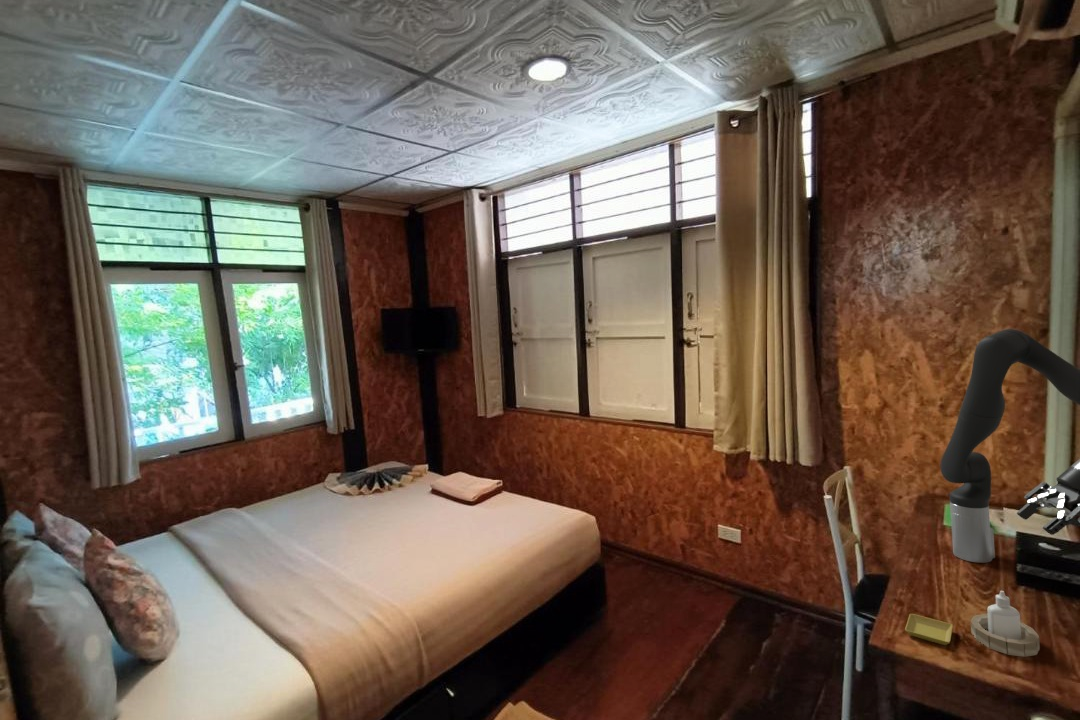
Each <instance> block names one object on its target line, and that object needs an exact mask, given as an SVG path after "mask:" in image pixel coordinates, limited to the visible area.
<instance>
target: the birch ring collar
mask: <svg viewBox="0 0 1080 720" xmlns="http://www.w3.org/2000/svg"><path fill="white" fill-rule="evenodd" d="M1020 622H1021V639H1022V640H1015V639H1007V638H1003V637H1000V636H997V635H994V634H992V633H990V632H989V631H988V614H987V613H981V614H976V615H974V616H973V617H972V618H971V619H970V632H971V634H972V636H973V635H974V636H973V637H974V639H975V638H976V639H975V640H976V641H977V642H979V643H980V642H981V643H980V644H982V645H983V644H984V646H985V647H987V648H988V649H991V650H993V651H996V652H999V653H1003V654H1005V655H1009V656H1015V657H1024V658H1026V657H1031V656H1037V655H1038V653H1039V651H1040V648H1041V647H1040V635H1039V634H1038V633H1037V632H1036V631H1035V630H1034V628H1033V627H1031V626H1029V625H1027V624H1025V623H1024V622H1022V621H1020ZM985 629H986V630H985Z"/></svg>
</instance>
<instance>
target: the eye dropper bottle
mask: <svg viewBox="0 0 1080 720" xmlns="http://www.w3.org/2000/svg"><path fill="white" fill-rule="evenodd" d="M986 614H988V629H987V631H988V632H990V633H992V634H994V635H997V636H1000V637H1003V638H1007V639H1015V640H1022V639H1023V638H1021V622H1022V621H1021V615H1020V614H1021V613H1020V612H1019V610H1018V609H1016V608H1015V607H1013V606H1011V600H1010V597H1008V596H1006V594H1005V591H1004V590H999V594H995V603H994V604H991V605H989V606H988V607H987V613H986Z"/></svg>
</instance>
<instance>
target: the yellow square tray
mask: <svg viewBox="0 0 1080 720" xmlns="http://www.w3.org/2000/svg"><path fill="white" fill-rule="evenodd" d="M953 628H954V625H953V624H952V623H949V622H946V621H941V620H938V619H934V618H932V617H931V618H930V617H928V616H927V617H926V616H924V615H918V614H916V613H910V614H909V615H908V618H907V622H906V625H905V628H904V631H905V632H907V633H908V635H909V636H911V637H915V638H918V639H922V640H924V641H928V642H932V643H934V642H935V644H938V645H943V646H947V645H949V644H950V643H951V639H952V634H953V633H952V632H953Z"/></svg>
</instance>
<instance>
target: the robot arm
mask: <svg viewBox="0 0 1080 720" xmlns="http://www.w3.org/2000/svg"><path fill="white" fill-rule="evenodd" d="M973 354H974V355H973V360H972V361H973V362H972V369H971V373H970V375H971V376H970V379H969V381H968V383H967V384H968V385H967V388H966V391H965V394H964V398H963V400H962V403H961V406H960V409H959V413H958V416H957V420H956V423H955V426H954V429H953V432H952V436H951V438H950V440H949V442H948V444H947V446H946V448H945V450H944V452H943V454H942V457H941V458H940V473H941V475H942V477H943V478H944V480H945V481H947V482H949V483H953V484H962V485H961V486H959V487H958V488H956V489H954V490H952V491H950V492H949V494H948V495H949V510H950V524H951V525H950V526H951V540H952V554H953V555H954V556H955V557H957V558H958V559H961V560H964V561H966V562H972V563H978V564H980V563H981V564H982V563H983V564H984V563H990V562H992V561H993V559H995V558H996V554H995V538H994V528H992V527H991V523H990V521H991V519H990V518H991V517H990V500H991V497H992V470H991V469H992V468H991V465H990V462H989V460H988V459H987V458H986V456H985V455H984V454H983V453H980V452H978V451H977V452H975V451H974V449H976V448H977V447H978V446H980V444H981V443H983V442H984V441H985V440H986V439H988V437H990V436H992V434H994V432H995V431H997V429H998V427H1000V425H1001V421H1002V418H1003V416H1004V413H1005V409H1006V400H1005V397H1004V394H1003V383H1004V380H1005V378H1006V376H1007V373H1008V372H1009V369H1010V368H1011V367H1012V366H1013V364H1017V363H1019V364H1020V363H1021V364H1022V365H1025V366H1027V367H1030V368H1031V369H1033V370H1035V371H1037V372H1038V373H1040V374H1041V375H1042V376H1043V377H1045V378H1046V379H1047V380H1048V381H1049V383H1051V384H1052V385H1053V386H1054V388H1055V389H1056V390H1057V391H1058V392H1060V393H1061V394H1062V395H1063V396H1064V397H1066V398H1067V399H1068V400H1071V401H1072V402H1073V403H1075V404H1077V405H1079V406H1080V368H1078V367H1076V365H1073V364H1071V363H1070V362H1068V361H1067V360H1065V359H1063V358H1062V356H1059V355H1058V354H1056V353H1055V352H1053V351H1052V350H1051V349H1049V348H1047V347H1046V346H1044V345H1043V344H1041V342H1039V341H1037V340H1035V338H1033V337H1031V336H1030V335H1028V334H1027V333H1025V332H1023V331H1020V330H1019V329H1015V328H1014V329H1012V328H1008V329H1003V330H999V331H997V332H994V333H991V334H990V335H989V334H988V335H987V336H985V337H983V338H982V339H981V340H980V341H979V342H978V343H977V344H976V347H975V349H974V353H973ZM1055 480H1056V482H1057V484H1056V485H1054V486H1051V485H1050V484H1049V483H1047V482H1046V481H1042V482H1040V483H1039V484H1038V485H1037V486H1036V487H1034V488H1032V490H1030V491H1029V492H1027V493H1026V494H1025V495H1024V496H1023V498H1024V499H1025V500H1026V502H1027V503H1026V504H1025V505H1024V506H1022V507H1021V508H1020V509H1019V510H1018V511H1017V512H1016V515H1017V516H1019V517H1020V518H1021V519H1023V520H1026V521H1027V520H1028V519H1029V518H1030V517H1032V516H1033V515H1034V514H1036V512H1038V510H1040V509H1043V508H1049V509H1051V508H1054V509H1057V516H1056V517H1053V518H1052V519H1050V521H1049V522H1047V523H1046V524H1044V526H1043V527H1042V529H1043V531H1045V533H1048V534H1049V535H1051V536H1053V535H1055V534H1057V533H1059V532H1060V531H1061V530H1063V528H1065V527H1066V526H1075V527H1077V528H1078V527H1080V517H1078V516H1080V458H1079V459H1077V461H1075V462H1074V463H1073V464H1072V465H1071V466H1069V467H1068V468H1067V469H1066V470H1064V471H1063V472H1062V473H1061V474H1060V475H1058V476H1057V477H1056V479H1055ZM1035 495H1036V497H1035ZM1077 517H1078V518H1077Z"/></svg>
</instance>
